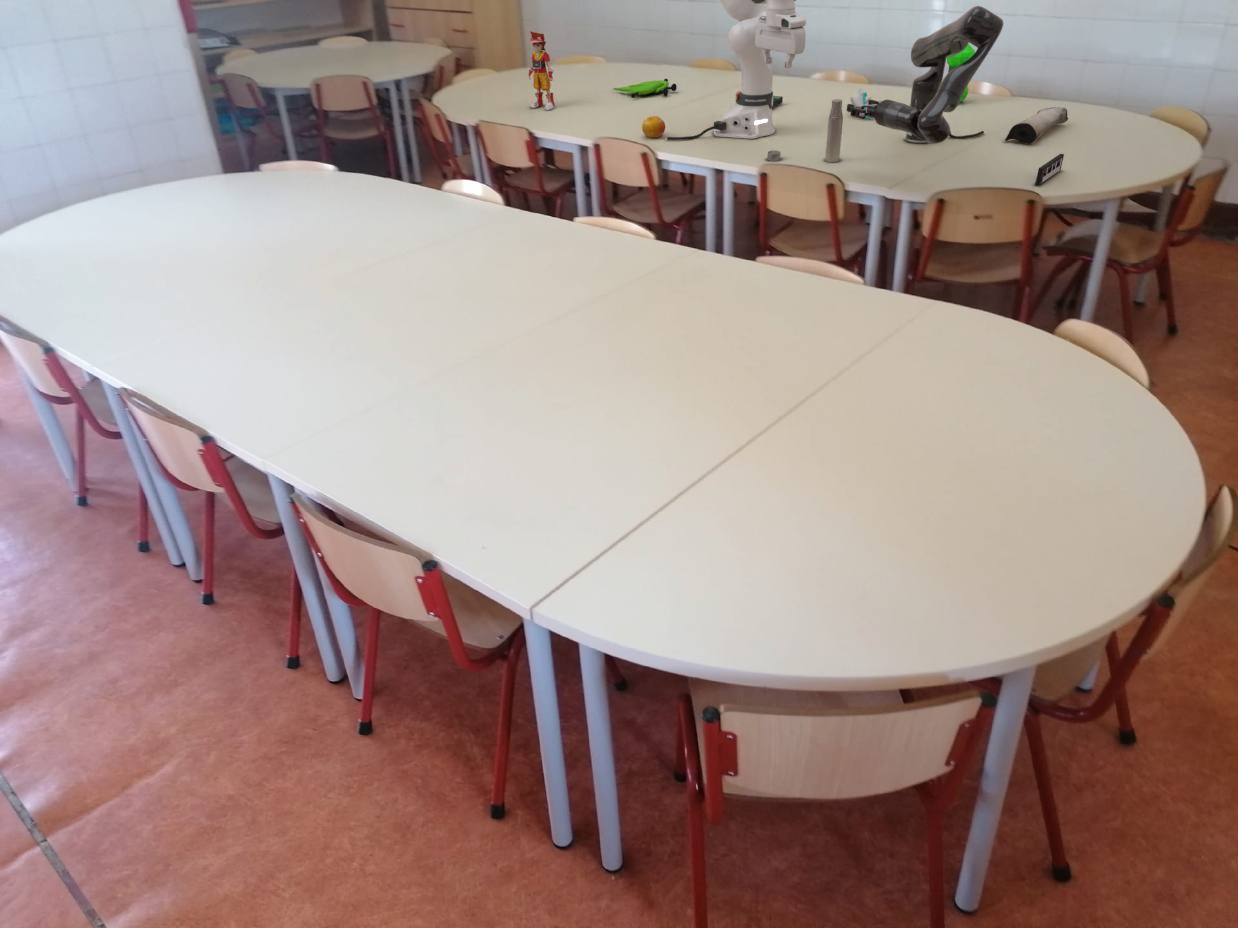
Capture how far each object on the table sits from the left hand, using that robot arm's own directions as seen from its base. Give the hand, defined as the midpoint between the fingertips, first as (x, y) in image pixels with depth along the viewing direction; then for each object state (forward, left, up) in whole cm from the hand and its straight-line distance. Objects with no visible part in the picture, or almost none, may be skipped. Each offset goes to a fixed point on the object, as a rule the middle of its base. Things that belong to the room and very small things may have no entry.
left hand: (778, 66), depth 288 cm
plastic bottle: (+63, +80, -30) cm, 106 cm away
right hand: (+26, -8, -10) cm, 29 cm away
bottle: (+20, 0, -30) cm, 36 cm away
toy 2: (-68, +97, -30) cm, 122 cm away
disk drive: (-11, +72, -30) cm, 78 cm away
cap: (0, 0, -28) cm, 28 cm away
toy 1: (-105, +68, -30) cm, 129 cm away
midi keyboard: (+85, -15, -30) cm, 91 cm away
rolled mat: (+88, +36, -30) cm, 99 cm away
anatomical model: (+29, +59, -30) cm, 72 cm away
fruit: (-47, +26, -30) cm, 61 cm away
